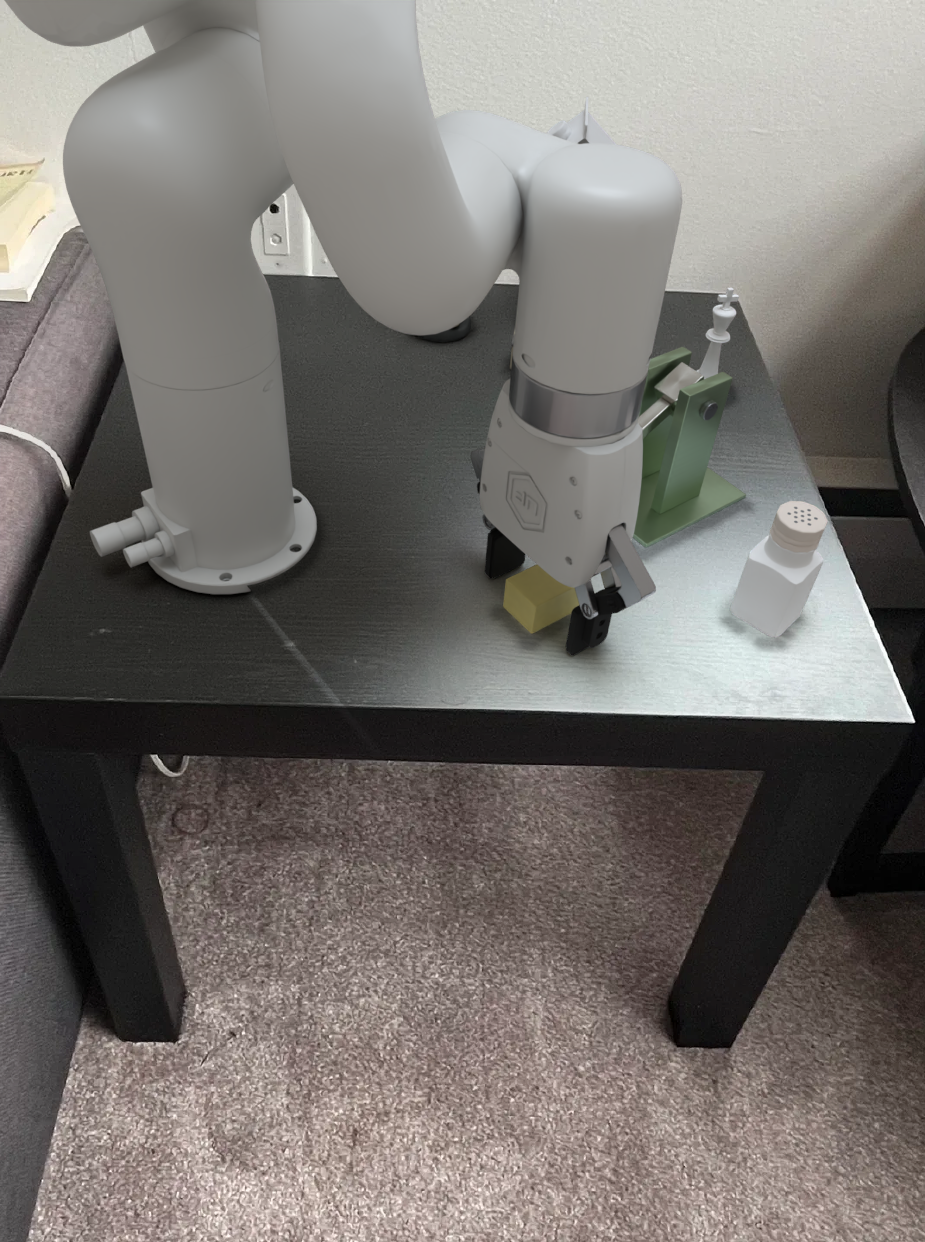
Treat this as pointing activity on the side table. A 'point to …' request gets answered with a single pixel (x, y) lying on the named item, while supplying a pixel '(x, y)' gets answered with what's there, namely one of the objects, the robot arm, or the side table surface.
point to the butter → (538, 598)
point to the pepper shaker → (781, 570)
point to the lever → (667, 396)
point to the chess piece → (718, 333)
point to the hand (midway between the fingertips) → (543, 605)
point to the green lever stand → (681, 455)
